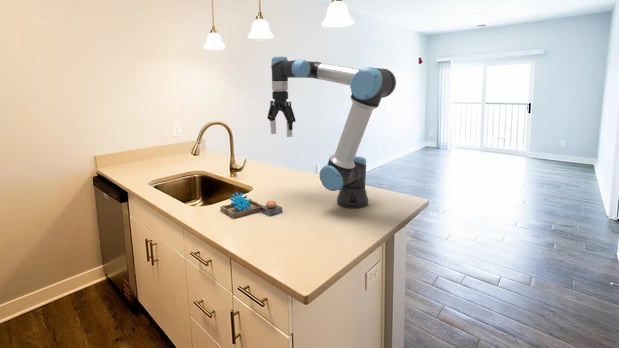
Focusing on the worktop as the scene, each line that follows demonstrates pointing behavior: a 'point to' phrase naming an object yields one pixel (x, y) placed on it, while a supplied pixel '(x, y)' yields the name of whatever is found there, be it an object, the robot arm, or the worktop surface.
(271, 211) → the block
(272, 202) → the button
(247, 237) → the worktop surface
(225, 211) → the brown tray
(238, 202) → the gear
